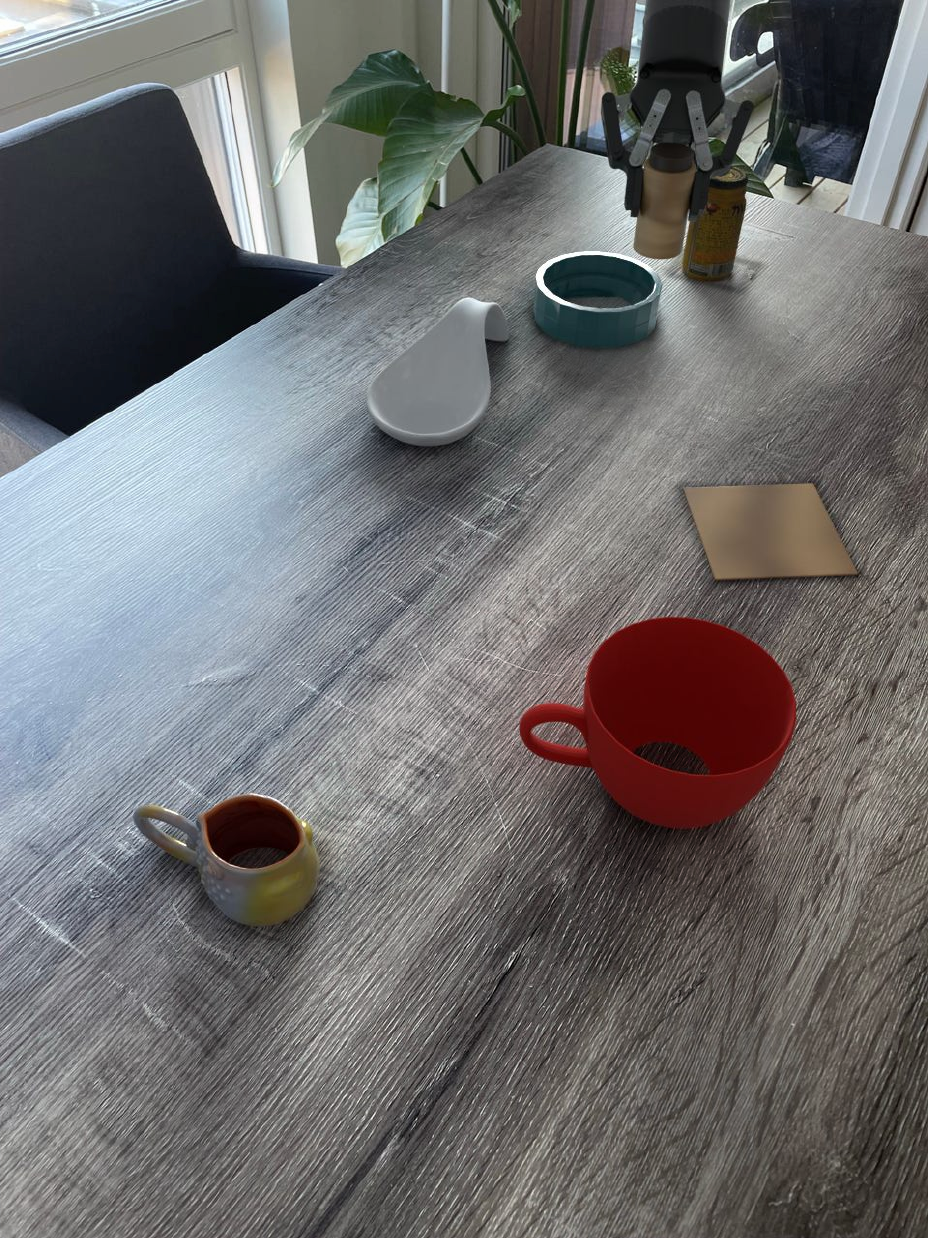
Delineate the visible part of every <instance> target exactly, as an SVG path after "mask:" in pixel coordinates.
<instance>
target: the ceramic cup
mask: <svg viewBox="0 0 928 1238" xmlns="http://www.w3.org/2000/svg"><path fill="white" fill-rule="evenodd" d="M582 699H583V701H582V708H579V707H576V706H574V705H569V704H565V703H559V702H546V703H539V704H537V705H535V706H532V707H531V708H529V709H528V710H526V712H524V714H523V715H522V716H521V718H520V721H519V724H518V725H519V727H518V728H519V736H520V740H521V741H522V743H523V745H524V746H525V747H526V748H527V750H528V751H530V752H531V753H532V754H534V755H536V756H537V757H539V758H541V759H543V760H546V761H550V762H553V763H557V764H561V765H568V766H575V767H579V768H581V767H582V768H589V769H593V772H594V773H595V776H596V777H597V778H598V780H599V782H600V784H601V785H602V787H603V788H604V790H605V791H606V792H607V793H608V794H609V795H610V797H611V798H612V799H613V800H614V801H615V803H617V804H618V805H619V806H620V807H621V808H622V809H624V810H625V811H627V812H628V813H629V814H631V815H633V816H634V817H636V818H638V819H639V820H641V821H643V822H647V823H648V824H649V823H650V824H652V825H654V826H659V827H664V828H668V829H682V830H683V829H684V830H685V829H686V830H687V829H696V828H701V827H707V826H709V825H712V824H715V823H718V822H721V821H724V820H725V819H727V818H729V817H731V816H733V815H734V814H735V813H738V812H739V811H740V810H743V808H745V807H746V806H747V805H749V803H750V802H751V801H752V800H753V799H754V798H755V797H756V796H757V795H758V794H759V793H760V792H761V791H762V790H763V789H764V787H765V786H766V785H767V783H768V782H769V780H770V779H771V777H772V776H773V774H774V772H775V771H776V769H777V767H778V765H779V764H780V762H781V760H782V759H783V757H784V755H785V753H786V752H787V749H789V748H788V747H789V745H790V743H791V741H792V739H793V735H794V731H795V728H796V724H797V701H796V695H795V693H794V687H793V685H792V683H791V681H790V680H789V678H788V676H787V674H786V672H785V671H784V670H783V668H782V667H781V666H780V664H779V663H778V662H777V661H776V659H775V658H774V657H773V656H772V655H771V654H769V652H768V651H767V650H765V649H764V647H762V646H761V645H759V643H757V642H755V641H754V640H752V639H750V638H749V637H748V636H746V635H745V634H744V633H743V634H742V633H740V632H738V631H736V630H734V629H732V628H729V627H727V626H726V625H722V624H719V623H716V622H712V621H709V620H705V619H700V618H693V617H687V616H662V617H653V618H648V619H645V620H641V621H637V622H634V623H632V624H629V625H627V626H625V627H623V628H621V629H619V630H617V631H615V632H614V633H613V634H611V635H610V636H609V637H608V638H606V639H605V640H604V641H603V642H602V643H601V645H600V646H599V647H598V648H597V649H596V650H595V651H594V652H593V655H592V658H591V660H590V662H589V664H588V666H587V670H586V674H585V680H584V685H583V698H582ZM546 723H565V724H569V725H571V726H573V727H575V728H576V729H577V730H578V732H580V735H582V738H583V741H584V743H585V748H583V747H574V746H568V745H563V744H556V743H553V742H549V741H546V740H544V739H541V738H539V737H538V736H536V734H534V733H533V732H532V730H533V729H534V728H535V727H537V726H539V725H542V724H546ZM657 742H659V743H670V744H675V745H678V746H681V747H684V748H686V749H688V750H690V751H691V752H693V753H694V754H695V755H697V756H698V757H699V758H700V760H702V761H703V763H704V764H705V766H706V767H707V769H708V771H709V774H692V773H686V772H681V771H675V770H671V769H668V768H666V767H662V766H660V765H657V764H654V763H652V762H650V761H649V760H646V759H644V758H642V757H640V756H638V755H636V754H635V753H634V751H635V750H636V749H638V748H640V747H642V746H645V745H647V744H651V743H657Z"/></svg>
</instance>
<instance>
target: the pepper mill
mask: <svg viewBox="0 0 928 1238" xmlns="http://www.w3.org/2000/svg"><path fill="white" fill-rule="evenodd" d="M693 156H694V150H693V149H692V148H691V147H689V146H687V145H684V144H680V143H673V142H665V143H659V144H658V143H655V144H654V146H652V147H651V150H650V155H649V157H648V158H647V160H646V161H645V162H644V166H643V168H644V172H643V181H642V190H641V199H640V208H639V214H638V217H636V223H635V230H634V237H633V238H634V239H633V246H632V247H633V250H634V251H635V252H636V253H637V254H638V255H640V256H642V257H644V258H646V259H652V260H671V259H674V258H677V257H679V256H680V255H681V254H682V252H683V248H684V242H685V237H686V230H687V224H688V216H689V207H690V201H691V195H692V189H693V183H694V177H695V172H696V164H695V163H694V162H693Z"/></svg>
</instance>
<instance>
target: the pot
mask: <svg viewBox="0 0 928 1238" xmlns="http://www.w3.org/2000/svg"><path fill="white" fill-rule="evenodd" d="M534 278H535V279H534V294H533V309H532V314H533V318H534V320H535V323H536V324H537V325H538V326H539V328H540V329H541V330H542V331H543V332H544V333H546V334H548V335H550V336H551V337H552V338H554V339H556V340H558V341H562V342H564V343H568V344H571V345H573V346H579V347H587V348H595V349H599V348H600V349H603V348H617V347H622V346H627V345H628V346H629V345H632V344H634V343H637V342H639V341H641V340H643V339H645V338H647V337H649V335H650V334H651V333H652V332H654V330H655V328H656V325H657V320H658V314H659V309H660V303H661V295H662V291H663V282H662V280H661V278H660V274H658V273H657V271H655V270H654V269H653V268H652V267H651V266H650V265H647V264H645V263H644V262H642V261H640V260H638V259H636V258H634V257H629V256H626V255H623V254H620V253H613V252H603V251H578V252H572V253H567V254H562V255H559V256H557V257H554V258H552V259H549V260H547V261H546V262H545V263H544V264H542V265H541V266H540V267H539V268H538V270H537V272H536V275H535V277H534ZM587 298H588V299H594V298H595V299H596V298H619V299H622V300H623V301H625V302H627V303H629V304H630V305H625V306H622V307H621V306H620V307H611V308H610V307H607V308H598V307H592V306H591V307H590V306H584V305H579V304H575V303H573V302H569V301H565V300H564V299H587Z"/></svg>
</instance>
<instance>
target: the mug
mask: <svg viewBox="0 0 928 1238" xmlns="http://www.w3.org/2000/svg"><path fill="white" fill-rule="evenodd" d="M132 819H133V820H132V821H133V823H134V825H135V827H136V828H137V830H138V831H139V832H140V833H141V835H143V836H144V837H145V838H146V839H147V840H148V841H150V842H151V843H152V844H154V845H156V847H158V848H160V849H161V850H162V851H164V852H165V853H167V854H169V855H171V856H173V857H174V858H176V859H178V860H179V861H182V862H184V863H186V864H189V865H191V866H193V867H195V868H197V869H198V872H199V875H200V882H201V884H202V885H203V887H204V891H205V893H206V895H207V896H208V898H209V900H211V902H212V903H213V904H214V905H215V906H216V908H217V909H218V910H219V911H220V912H221V913H222V914H224V915H225V917H227V918H229V919H230V920H232V921H234V922H236V923H238V924H241V925H243V926H249V927H260V928H261V927H263V928H265V927H272V926H275V925H279V924H281V923H284V922H285V921H288V920H289V919H291V918H293V917H294V916H296V914H299V912H300V911H302V910H303V909H304V908H305V907H306V905H307V904H308V903H310V900H311V899H312V898H313V896H314V894H315V893H316V890H317V887H318V886H319V885H318V884H319V880H320V872H321V871H320V869H321V865H320V856H319V853H318V849H317V847H316V844H315V841H314V831H313V828H312V826H311V825H310V824H309V822H307V821H306V820H304V819H303V818H300V817H298V816H297V815H296V814H295V812H294V811H293V810H292V809H290V807H288V805H286V804H285V803H283V802H281V801H280V800H278V799H276V798H275V797H272V796H268V795H264V794H257V793H256V792H248V793H246V794H238V795H234V796H230V797H228V798H226V799H224V800H222V801H220V802H219V803H217V804H215V805H214V806H213V807H212V808H210V809H209V810H207V811H205V812H200V813H198V814H197V815H196V817H195V822H193V820H190V819H189V818H187V817H186V816H185V815H182V814H181V813H178V812H177V811H174V810H171V809H169V808H166V807H164V806H160V805H156V804H142V805H140V806H138V807H136V809H135V810H134V811H133V814H132ZM151 819H152V820H156V821H160V822H161V823H164V824H167V825H169V826H172V827H173V828H175V829H177V830H179V831H180V832H182V833H184V834H185V835H186V837H185V840H184V842H183V841H181V840H178V838H175V837H173V836H171V835H170V834H168V833H166V832H165V831H163V830H162V829H161V828H160V827H159V826H157V825H156V824H155V823H154V821H152V820H151ZM265 848H266V849H273V850H279V851H281V852H284V853H286V854H287V855H288V856H286V857H285V858H283V859H282V860H279V861H277V862H275V863H273V864H270V865H268V866H264V867H258V868H247V867H240V866H237V865H233V864H231V863H230V862H231V861H232V860H233V859H235V858H236V857H238V856H240V855H242V854H243V853H245V852H249V851H252V850H256V849H265Z"/></svg>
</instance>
